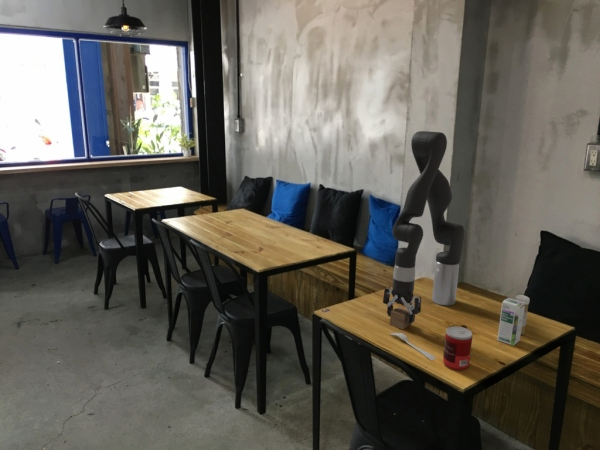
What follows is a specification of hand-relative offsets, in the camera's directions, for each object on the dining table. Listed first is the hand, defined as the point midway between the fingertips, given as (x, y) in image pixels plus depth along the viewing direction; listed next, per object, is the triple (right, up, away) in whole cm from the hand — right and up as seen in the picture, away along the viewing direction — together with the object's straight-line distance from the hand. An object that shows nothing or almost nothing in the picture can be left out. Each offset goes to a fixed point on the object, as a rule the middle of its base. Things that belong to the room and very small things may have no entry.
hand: (400, 319), depth 173 cm
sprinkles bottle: (+41, -4, -3) cm, 42 cm away
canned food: (+12, -9, -26) cm, 30 cm away
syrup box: (+35, -6, -9) cm, 37 cm away
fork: (+1, -6, -14) cm, 16 cm away
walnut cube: (0, -2, +1) cm, 2 cm away
